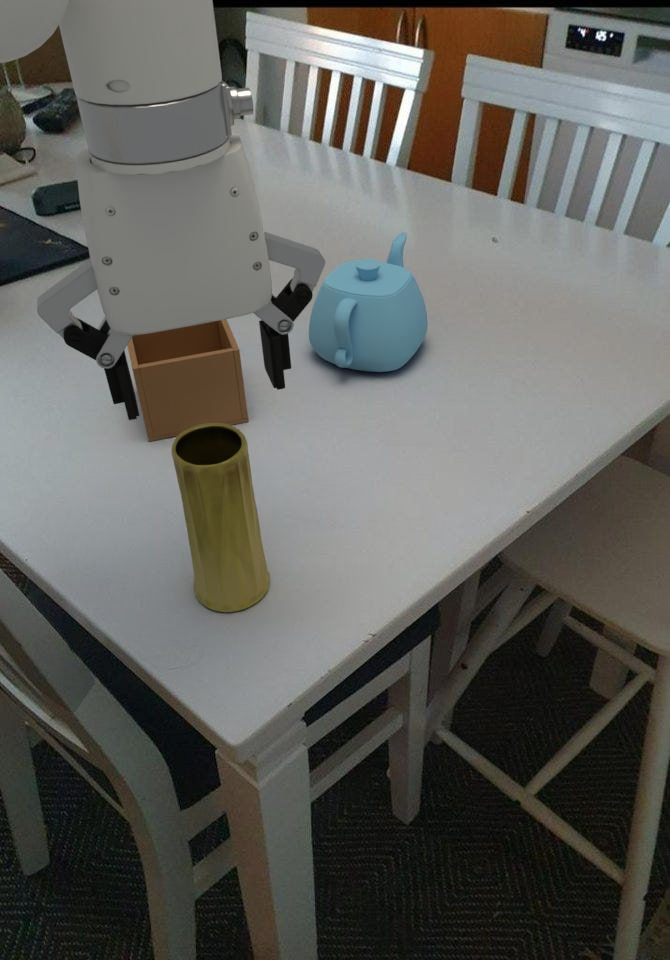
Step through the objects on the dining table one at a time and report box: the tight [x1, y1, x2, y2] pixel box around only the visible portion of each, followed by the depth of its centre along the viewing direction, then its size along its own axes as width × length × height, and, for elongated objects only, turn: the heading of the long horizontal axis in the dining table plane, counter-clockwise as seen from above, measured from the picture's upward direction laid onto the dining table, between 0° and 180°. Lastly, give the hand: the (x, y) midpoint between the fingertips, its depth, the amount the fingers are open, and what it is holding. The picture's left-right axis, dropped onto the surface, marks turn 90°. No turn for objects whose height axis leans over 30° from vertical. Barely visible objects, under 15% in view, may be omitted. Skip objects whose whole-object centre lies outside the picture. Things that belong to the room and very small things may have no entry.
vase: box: [171, 423, 271, 613], centre depth 61 cm, size 6×6×14 cm
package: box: [126, 319, 249, 443], centre depth 83 cm, size 10×10×8 cm
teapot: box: [308, 232, 429, 373], centre depth 90 cm, size 13×11×18 cm
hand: (204, 393), depth 54 cm, fingers open, 9 cm apart
